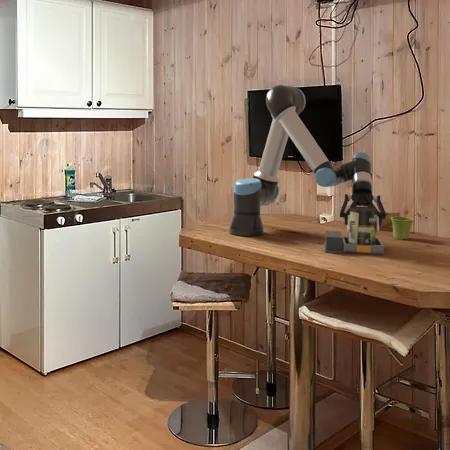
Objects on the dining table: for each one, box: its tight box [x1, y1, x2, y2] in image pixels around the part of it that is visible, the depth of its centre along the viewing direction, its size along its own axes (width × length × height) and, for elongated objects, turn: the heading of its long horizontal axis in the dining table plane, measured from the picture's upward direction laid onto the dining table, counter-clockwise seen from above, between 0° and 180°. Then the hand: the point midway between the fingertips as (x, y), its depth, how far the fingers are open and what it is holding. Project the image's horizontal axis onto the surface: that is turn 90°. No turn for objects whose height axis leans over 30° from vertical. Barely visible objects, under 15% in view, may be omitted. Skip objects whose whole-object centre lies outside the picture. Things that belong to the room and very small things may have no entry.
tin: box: [379, 212, 402, 232], centre depth 268 cm, size 15×3×8 cm, turn 69°
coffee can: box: [348, 206, 379, 245], centre depth 224 cm, size 10×10×14 cm
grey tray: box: [323, 230, 385, 256], centre depth 225 cm, size 21×15×6 cm
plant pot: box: [391, 216, 415, 241], centre depth 249 cm, size 9×9×9 cm
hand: (363, 231), depth 221 cm, fingers closed on coffee can, 10 cm apart
